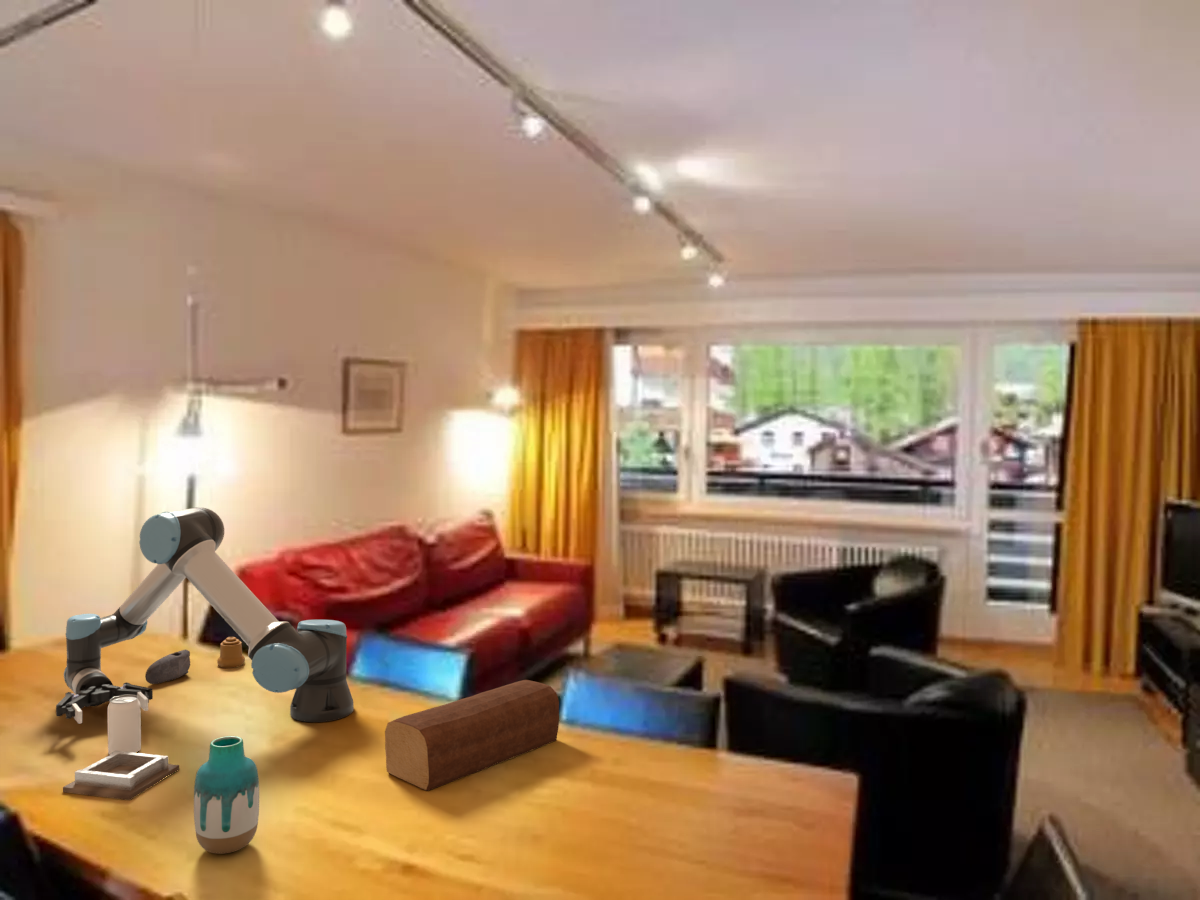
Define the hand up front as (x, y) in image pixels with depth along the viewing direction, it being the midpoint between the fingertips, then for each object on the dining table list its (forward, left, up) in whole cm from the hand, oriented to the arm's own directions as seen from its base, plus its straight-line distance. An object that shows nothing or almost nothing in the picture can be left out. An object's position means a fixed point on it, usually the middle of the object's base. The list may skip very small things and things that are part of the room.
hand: (114, 711), depth 209 cm
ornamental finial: (+9, -59, -7) cm, 60 cm away
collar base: (-17, +18, -7) cm, 26 cm away
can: (-7, +5, -7) cm, 11 cm away
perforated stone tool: (+17, -42, -7) cm, 46 cm away
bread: (-82, -12, -7) cm, 83 cm away
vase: (-54, +38, -7) cm, 66 cm away
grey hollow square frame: (-17, +18, -7) cm, 26 cm away
